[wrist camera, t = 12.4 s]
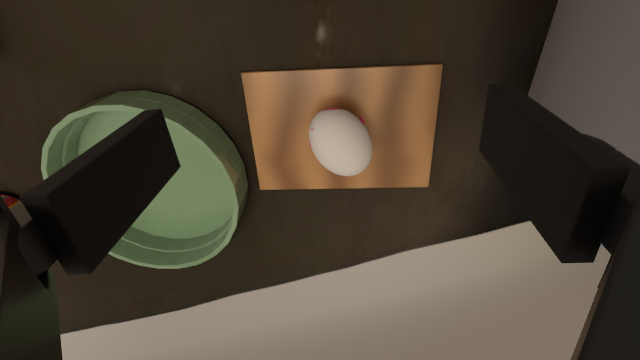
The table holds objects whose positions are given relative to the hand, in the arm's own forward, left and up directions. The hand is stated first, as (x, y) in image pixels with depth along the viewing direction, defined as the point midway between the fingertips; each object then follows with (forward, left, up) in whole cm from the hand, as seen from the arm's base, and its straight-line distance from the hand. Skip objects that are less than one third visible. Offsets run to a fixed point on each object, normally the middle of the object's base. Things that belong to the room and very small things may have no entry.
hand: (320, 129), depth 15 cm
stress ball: (0, +10, -22) cm, 24 cm away
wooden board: (-1, +10, -23) cm, 25 cm away
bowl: (+21, +15, -23) cm, 35 cm away
